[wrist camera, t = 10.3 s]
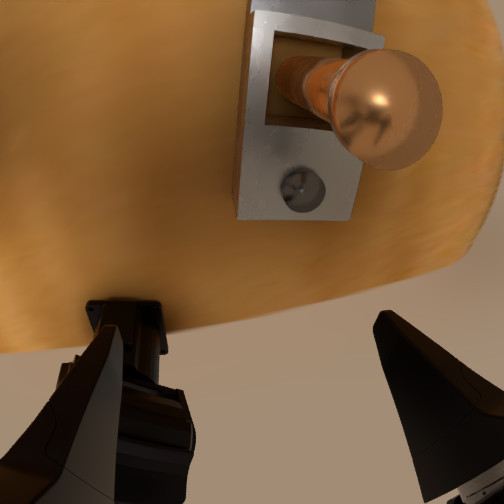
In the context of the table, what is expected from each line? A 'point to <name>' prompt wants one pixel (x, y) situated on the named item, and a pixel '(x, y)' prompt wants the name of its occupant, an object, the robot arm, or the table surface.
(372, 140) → the pin
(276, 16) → the slotted metal plate
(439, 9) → the table surface
